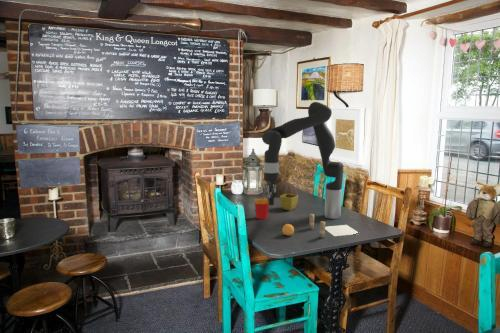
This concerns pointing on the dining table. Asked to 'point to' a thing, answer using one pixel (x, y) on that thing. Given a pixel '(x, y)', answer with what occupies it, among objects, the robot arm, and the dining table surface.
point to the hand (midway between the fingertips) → (270, 204)
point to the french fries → (261, 208)
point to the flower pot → (288, 201)
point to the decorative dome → (285, 189)
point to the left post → (311, 221)
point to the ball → (288, 229)
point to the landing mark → (340, 230)
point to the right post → (322, 229)
